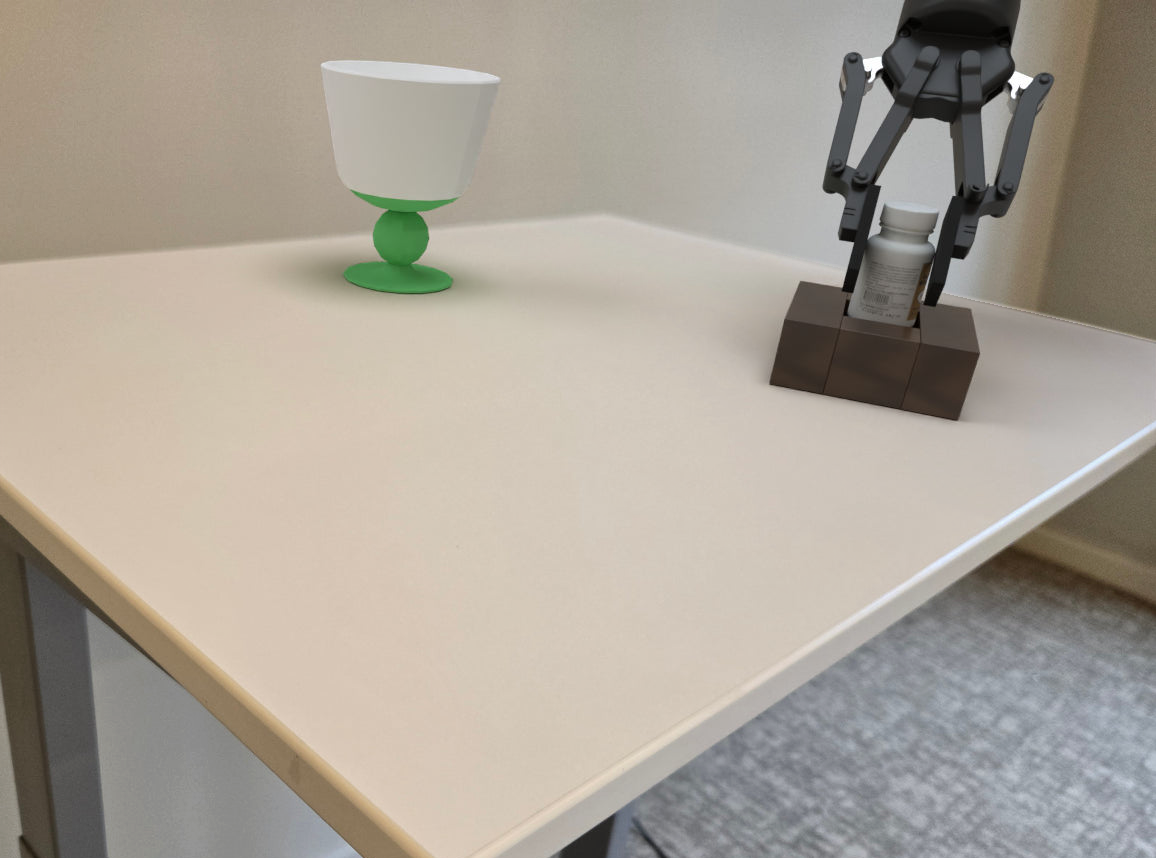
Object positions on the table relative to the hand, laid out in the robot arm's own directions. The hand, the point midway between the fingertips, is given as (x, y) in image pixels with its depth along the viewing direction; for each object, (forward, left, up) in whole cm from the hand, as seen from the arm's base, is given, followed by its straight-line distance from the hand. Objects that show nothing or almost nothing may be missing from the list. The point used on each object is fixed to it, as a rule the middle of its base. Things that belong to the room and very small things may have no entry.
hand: (891, 287), depth 69 cm
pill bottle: (0, -4, -3) cm, 5 cm away
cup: (+37, -7, -7) cm, 38 cm away
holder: (0, -4, -7) cm, 8 cm away
